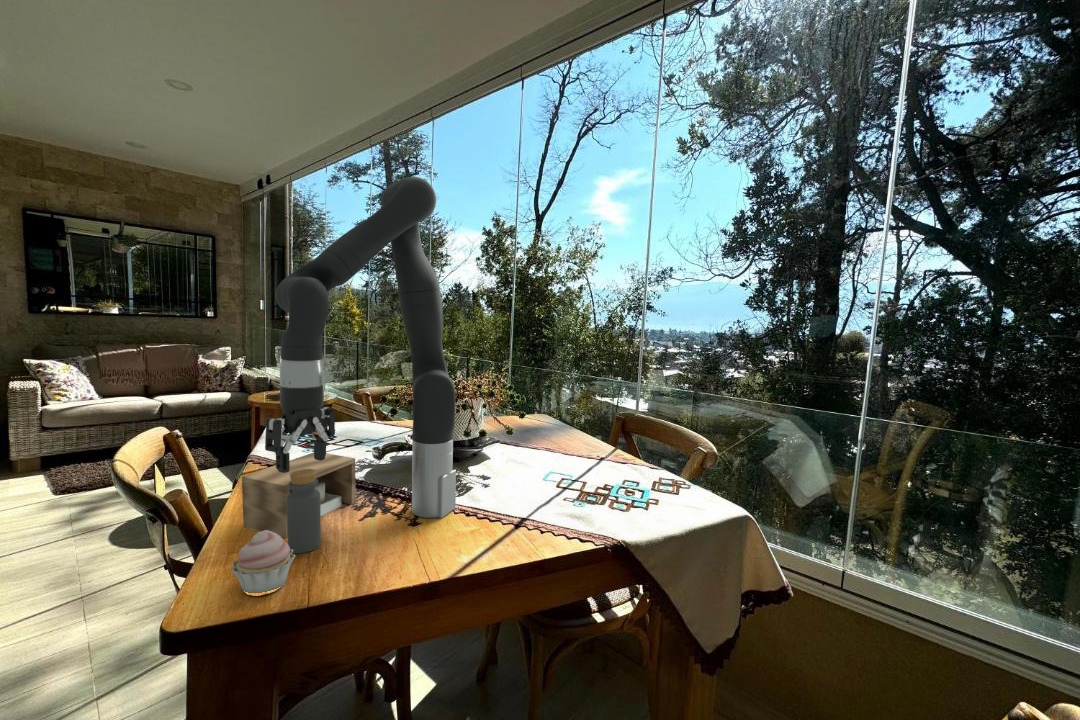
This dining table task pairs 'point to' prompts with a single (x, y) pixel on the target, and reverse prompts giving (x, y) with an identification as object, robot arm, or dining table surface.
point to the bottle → (303, 511)
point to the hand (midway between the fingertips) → (302, 465)
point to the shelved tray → (327, 499)
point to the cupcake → (263, 563)
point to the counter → (272, 488)
